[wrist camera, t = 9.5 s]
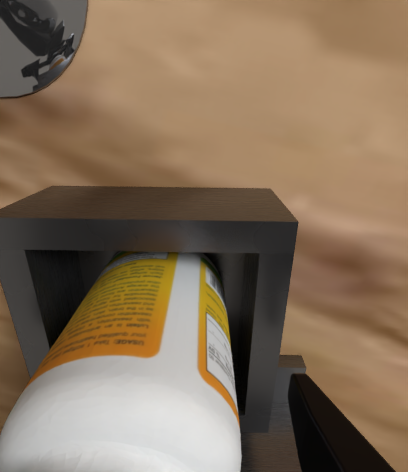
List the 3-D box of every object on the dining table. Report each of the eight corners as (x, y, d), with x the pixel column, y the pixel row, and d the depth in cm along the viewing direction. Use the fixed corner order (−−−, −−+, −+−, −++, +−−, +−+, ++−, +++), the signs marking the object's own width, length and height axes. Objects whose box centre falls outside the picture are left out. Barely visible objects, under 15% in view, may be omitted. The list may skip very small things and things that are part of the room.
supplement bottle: (85, 309, 13) (-171, 720, 4) (132, 211, 11) (-140, 569, 2) (188, 354, 14) (159, 762, 5) (247, 270, 12) (357, 677, 3)
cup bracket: (292, 403, 17) (360, 634, 9) (51, 398, 17) (-74, 621, 9) (332, 189, 12) (539, 313, 4) (-8, 185, 12) (-361, 297, 5)
